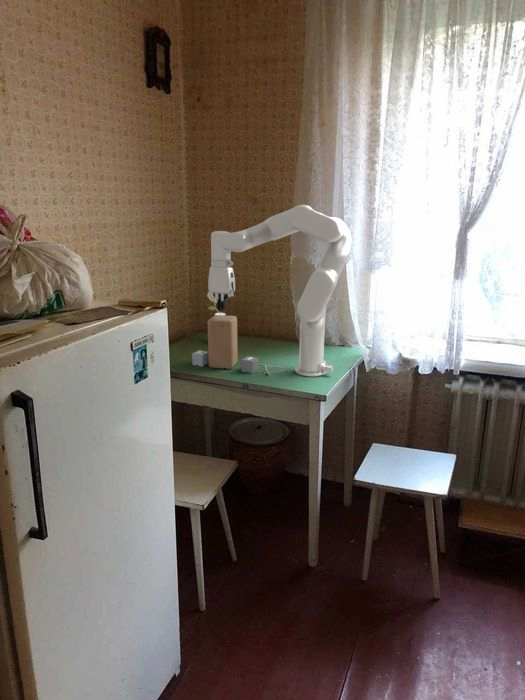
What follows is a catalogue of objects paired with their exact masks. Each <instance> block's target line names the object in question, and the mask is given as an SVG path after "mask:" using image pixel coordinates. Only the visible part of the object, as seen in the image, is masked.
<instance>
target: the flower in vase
mask: <svg viewBox="0 0 525 700" xmlns="http://www.w3.org/2000/svg"><path fill="white" fill-rule="evenodd" d="M221 294H222V293H221ZM206 297H207V298H208V299H209V301H210V302H212V303H214V306H213V305H210V306H209V307H207V310H210V311H215V310H216V313H214V315H226V313H225V312H220V311H218V308H217V306H216V304H217V300H216V298H215V297H214V296H213V295H211V294H209V291H207V295H206Z"/></svg>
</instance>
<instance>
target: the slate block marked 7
mask: <svg viewBox="0 0 525 700" xmlns="http://www.w3.org/2000/svg"><path fill="white" fill-rule="evenodd" d="M191 357H192V366H196V365H198V366H197V367H202V366H203V367H205V366H207V365H209V364H208V363H209V356H208V351H205V350H199V349H198V350H196V351H193V352H192V353H191ZM206 364H207V365H206ZM204 365H205V366H204Z"/></svg>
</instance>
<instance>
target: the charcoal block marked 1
mask: <svg viewBox="0 0 525 700" xmlns="http://www.w3.org/2000/svg"><path fill="white" fill-rule="evenodd" d="M240 361H241V363H240V364H241V366H240V367H241V368H240V369H241V371H242V373H247V372H248V374H254V373H255V372H257V371H259V370H260V369H259V365H260V364H259V357H254V356H249V355H248V356H246V357H244V358H242V359H241V360H240Z"/></svg>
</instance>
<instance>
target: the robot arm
mask: <svg viewBox="0 0 525 700" xmlns="http://www.w3.org/2000/svg"><path fill="white" fill-rule="evenodd" d="M297 232H301V233H303V234H305V235H308V236H310V237H313V238H314V239H317V240H319V241H322V242H324V243H327V247H326V248H325V251H324V254H323V255H322V257H321V258H322V259H321V260H320V262H319V264H318V267H317V268H316V269H315V270H314V272H313V273H312V274H311V275H310V277H309V279H308V281H307V283H306V286H305V288H304V289H303V292H302V294H301V297H300V298H299V300H298V303H297V307H296V312H297V315H298V317H299V319H300V320H299V321H300V322H299V323H300V324H299V353H298V356H299V357H298V365H297V366H295V368H294V372H295V373H296V374H298V375H300V376H303V377H321V376H325V375H326V374H327V373H328V372H333V370H334V367H333V364H327V360H325V359H324V357H325V354H324V353H325V331H326V330H325V329H326V315H327V305H328V302H329V300H330V299H331V296H332V294H333V292H334V290H335V289H336V286H337V283H338V281H339V278H340V275H341V274H342V271H343V269H344V266H345V264H346V262H347V261H348V260H347V259H348V257H349V256H350V252H351V249H352V248H351V247H352V235H351V232H350V229H349V228H348V226H347V224H346V223H345V222H344V220H343V219H341V218H339V217H336V216H328V215H326V214H324V213H321V212H319V211H316V210H314V209H313V208H312V207H311V206H310V205H307V204H299V205H295V206H294V207H293V208H290V209H288V210H285V211H283V212H280V213H278V214H274V215H271V216H270V217H268V218H267V219H265V220H264V221H262V222H260V223H258V224H255V225H254V226H251V227H249V228H246V229H243V230H238V231H234V232H229V231H226V230H225V231H224V230H218V231H217V230H215V231H213V232H211V234H210V245H211V246H210V252H211V253H210V254H211V259H210V261H211V263H210V265H211V266H210V267H209V270H208V271H209V272H208V280H207V282H208V284H207V285H208V286H207V288H208V292H209V294H211V295H213V296H214V297H215V298H216V300H217V303H216V309H217V310H218V312H223V311H225V310H226V305H227V304H226V302H227V300H228V299H229V298H231V297H232V298H233V297H234V296H235V294H234V292H235V291H236V278H235V271H234V268H233V267H232V266H234V262H233V261H232V257H231V256H232V253H231V252H234V253H241V252H245V251H246V250H249V249H252V248H254V247H257V246H259V245H263V244H265V243H268V242H272V241H276V240H277V241H278V240H280V239H282V238H285V237H287V236H291V235H293V234H295V233H297ZM221 293H222V294H221Z"/></svg>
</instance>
